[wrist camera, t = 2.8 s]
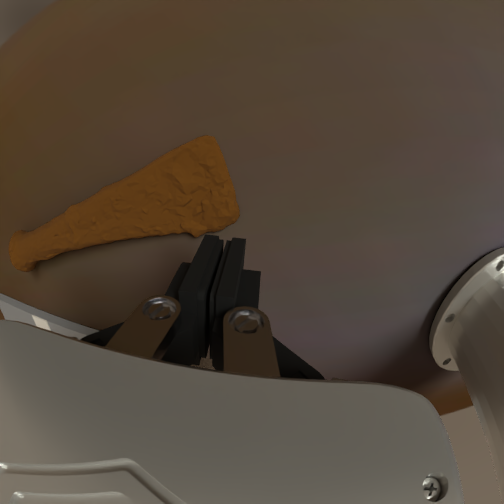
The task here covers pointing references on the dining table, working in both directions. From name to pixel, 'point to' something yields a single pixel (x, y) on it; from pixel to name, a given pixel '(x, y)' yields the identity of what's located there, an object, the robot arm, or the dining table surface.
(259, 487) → the robot arm
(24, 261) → the primitive tool
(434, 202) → the dining table surface
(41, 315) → the panel
